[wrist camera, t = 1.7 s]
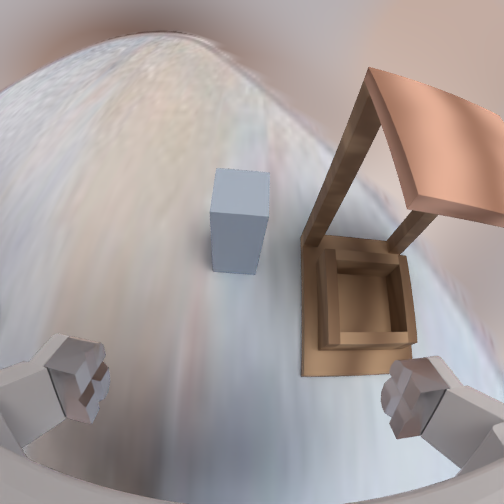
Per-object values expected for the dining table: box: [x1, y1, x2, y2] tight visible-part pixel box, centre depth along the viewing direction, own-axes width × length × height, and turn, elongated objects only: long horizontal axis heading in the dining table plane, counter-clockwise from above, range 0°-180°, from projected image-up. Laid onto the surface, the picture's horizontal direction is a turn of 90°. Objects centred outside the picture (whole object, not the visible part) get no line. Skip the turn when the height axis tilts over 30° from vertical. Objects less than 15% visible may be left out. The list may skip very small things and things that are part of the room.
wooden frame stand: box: [301, 67, 504, 377], centre depth 21 cm, size 11×14×20 cm
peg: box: [210, 168, 270, 275], centre depth 27 cm, size 4×4×10 cm
